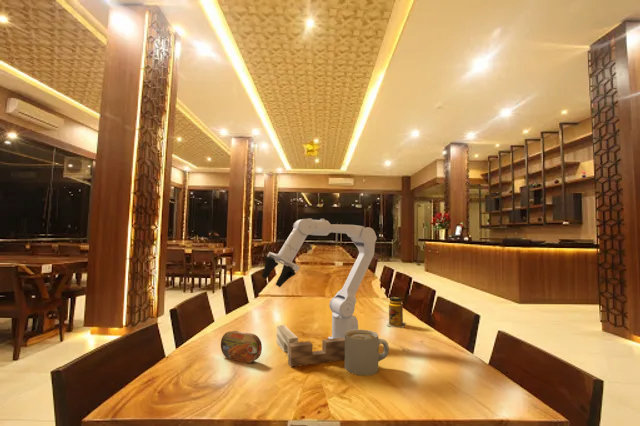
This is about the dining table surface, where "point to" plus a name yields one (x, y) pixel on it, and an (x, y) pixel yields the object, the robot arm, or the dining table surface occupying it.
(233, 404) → the dining table surface
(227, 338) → the tin
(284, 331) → the ash notched plate
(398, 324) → the condiment
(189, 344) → the dining table surface
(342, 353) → the walnut slotted plate
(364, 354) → the coffee mug
